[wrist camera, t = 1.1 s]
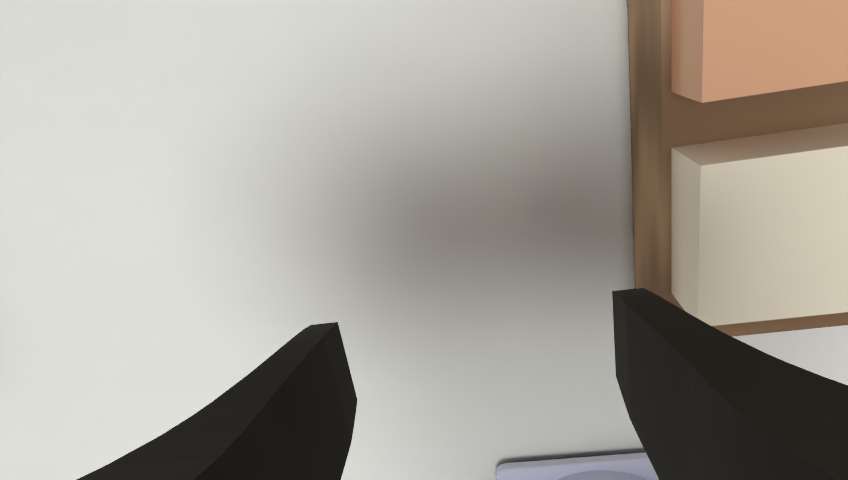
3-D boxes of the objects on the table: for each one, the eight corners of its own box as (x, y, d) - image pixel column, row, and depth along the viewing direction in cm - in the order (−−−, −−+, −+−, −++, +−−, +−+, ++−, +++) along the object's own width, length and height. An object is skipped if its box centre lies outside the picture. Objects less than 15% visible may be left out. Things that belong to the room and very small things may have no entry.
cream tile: (830, 275, 16) (878, 308, 14) (671, 293, 17) (697, 327, 15) (848, 122, 14) (904, 137, 13) (671, 148, 15) (700, 165, 13)
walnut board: (903, 268, 19) (979, 311, 16) (635, 298, 20) (663, 343, 17) (986, -227, 14) (1117, -288, 11) (623, -152, 15) (659, -190, 12)
